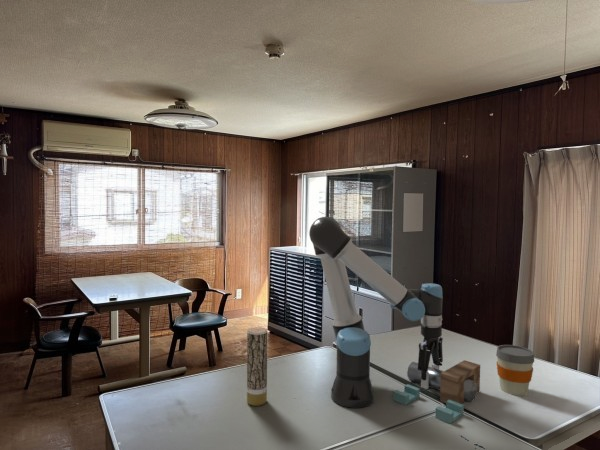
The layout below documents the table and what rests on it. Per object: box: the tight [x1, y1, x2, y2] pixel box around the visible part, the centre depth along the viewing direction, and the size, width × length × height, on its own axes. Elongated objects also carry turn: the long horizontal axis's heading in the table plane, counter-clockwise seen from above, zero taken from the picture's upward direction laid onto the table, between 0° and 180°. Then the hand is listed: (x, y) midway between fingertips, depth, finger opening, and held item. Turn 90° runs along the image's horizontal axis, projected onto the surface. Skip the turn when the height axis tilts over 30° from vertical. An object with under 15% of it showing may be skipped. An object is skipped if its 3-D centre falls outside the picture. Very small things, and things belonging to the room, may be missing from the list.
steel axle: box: [406, 361, 477, 402], centre depth 151 cm, size 24×7×7 cm, turn 43°
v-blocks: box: [392, 384, 465, 424], centre depth 138 cm, size 9×21×3 cm, turn 43°
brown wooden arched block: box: [439, 360, 481, 405], centre depth 145 cm, size 18×6×10 cm, turn 133°
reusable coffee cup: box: [495, 344, 535, 397], centre depth 151 cm, size 13×13×15 cm
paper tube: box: [246, 326, 268, 407], centre depth 139 cm, size 7×7×25 cm
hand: (430, 384), depth 154 cm, fingers open, 7 cm apart
